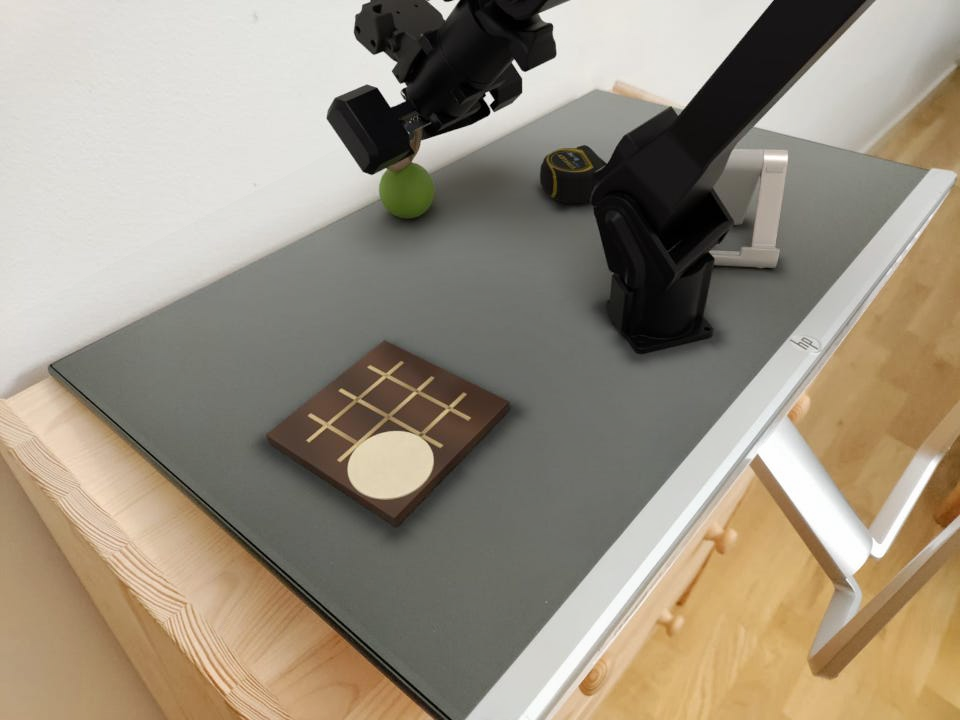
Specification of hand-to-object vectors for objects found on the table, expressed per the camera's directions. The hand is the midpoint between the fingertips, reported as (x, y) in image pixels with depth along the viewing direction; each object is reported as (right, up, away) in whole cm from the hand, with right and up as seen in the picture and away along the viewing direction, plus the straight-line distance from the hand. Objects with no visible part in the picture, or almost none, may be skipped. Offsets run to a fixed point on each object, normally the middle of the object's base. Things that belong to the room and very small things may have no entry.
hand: (395, 147), depth 68 cm
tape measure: (+18, -3, +5) cm, 19 cm away
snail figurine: (+1, -6, +4) cm, 7 cm away
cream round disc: (+2, -28, -21) cm, 35 cm away
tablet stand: (+30, -10, -4) cm, 32 cm away
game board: (+2, -25, -18) cm, 31 cm away
